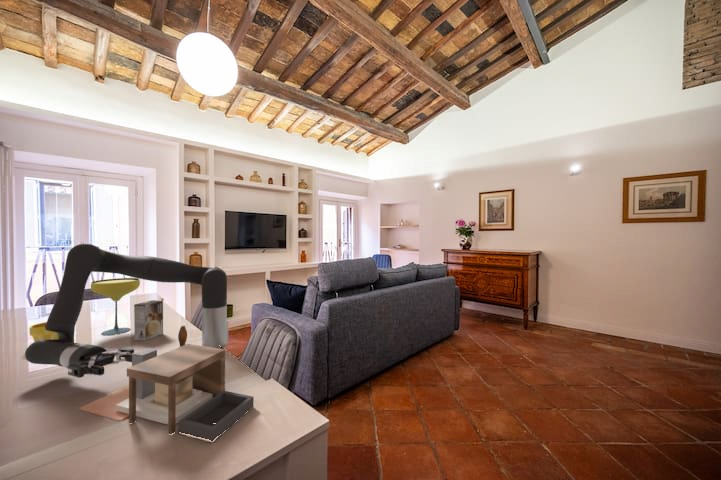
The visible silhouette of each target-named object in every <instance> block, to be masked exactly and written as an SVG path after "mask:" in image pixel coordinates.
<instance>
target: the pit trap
mask: <svg viewBox="0 0 721 480" xmlns="http://www.w3.org/2000/svg"><path fill="white" fill-rule="evenodd" d="M254 398H255V397H254V396H251V395H248V394H243V393H238V392H233V391H227V390H225V391H222V392H221V393H219V394H218V395H217V396H215V397H214V398H212V399H211V400H209V401H208V402H206V403H205V404H203V405H202V406H200V407H199V408H197V409H196V410H194V411H193V412H191V413H190V414H188V415H187V416H186V417H184V418H183V419H181V420H180V421H179V422H178V433H179V432H181V433H185V434H190V435H193V436H196V437H201V438H205V439H209V440H211V441H213V440H214V439H215V438H216V437H217V436H219V435H220V434H222V433H223V432H224V431H225V430H227V429H228V428H229V429H231V428H232V427H233V426H234V425H235V424H236V423H237V422H238V421H237V420H239V419H240V418H241V417H242V416H243V415H244V414H245V413H246V412H247V411H249V410H250V409H251V408H252V407H253V408H254ZM253 408H252V409H253ZM252 409H251V410H252ZM251 410H250V411H251ZM250 411H249V412H250ZM244 416H245V415H244ZM244 416H243V417H244ZM243 417H242V418H243ZM242 418H241V419H242ZM241 419H240V420H241ZM236 421H237V422H236ZM235 422H236V423H235ZM213 423H216V424H213ZM234 423H235V424H234ZM233 424H234V425H233ZM232 425H233V426H232ZM231 426H232V427H231ZM230 427H231V428H230ZM229 429H228V430H229ZM228 430H227V431H228Z"/></svg>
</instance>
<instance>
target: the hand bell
mask: <svg viewBox="0 0 721 480" xmlns="http://www.w3.org/2000/svg"><path fill="white" fill-rule="evenodd" d="M177 337H178V338H177V339H178V343H179V347H181V346H184V345H186V342H187V339H188V330H187V329H186V326H185V325H181V326H180V329H179V331H178V334H177Z"/></svg>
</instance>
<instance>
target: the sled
mask: <svg viewBox="0 0 721 480" xmlns="http://www.w3.org/2000/svg"><path fill="white" fill-rule="evenodd" d="M156 356H158V349H154V348H148V347H146V348H144V349H141V350H138V351H134V353H132V362H131V366H134V365H136V364H139V363H141V362H144V361H146V360H149V359H151V358H154V357H156ZM212 398H213V394H211V393H207V392H202V391H201V390H196V389H192V396H190V397H188V398H187V399H185V400H183V401H182V402H180V403H179V404H177V405H176V411H175V425H177V424H179V421H180V420H181V419H183V418H184V417H186V416H187V415H188V414H190V413H191V412H193V411H194V410H196V409H197V408H199V407H200V406H202V405H203V404H205V403H206V402H208V401H209V400H211V399H212ZM116 411H119V412H123V413H127V414H129V398H128V399H126V400H124V401H122V402H120V403H118V404H116ZM136 417H138V418H141V419H146V420H149V421H153V422H157V423H161V424H165V425H168V407H166V406H162V405H158V404H155V382H150V381H146V380H141V379H137V378H136Z"/></svg>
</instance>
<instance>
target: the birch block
mask: <svg viewBox="0 0 721 480" xmlns="http://www.w3.org/2000/svg"><path fill="white" fill-rule="evenodd" d="M190 396H192V375H189V376H187V377H185V378H183V379H181V380H179V381H177V382H176V405H177V404H179V403H180V402H182V401H183V400H185V399H187V398H188V397H190ZM155 404H158V405H162V406H166V407H168V385H164V384H160V383H155Z"/></svg>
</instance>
